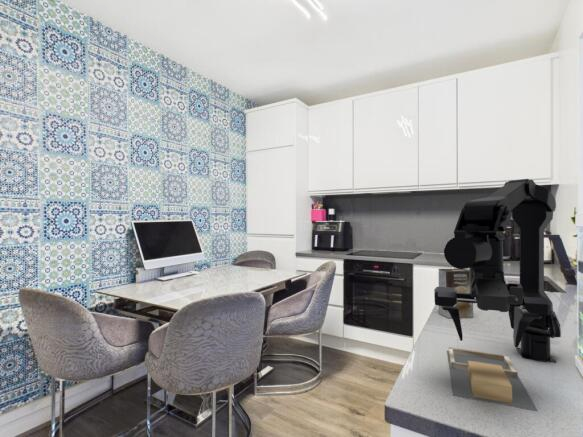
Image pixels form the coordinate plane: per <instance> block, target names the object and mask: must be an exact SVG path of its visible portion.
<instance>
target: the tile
mask: <svg viewBox="0 0 583 437" xmlns="http://www.w3.org/2000/svg"><path fill="white" fill-rule="evenodd" d="M468 376H469V380H470V384H471V388H472V391H473V395H474V397H479V398H484V399H490V400H495V401H501V402H506V403H511V404H512V386H511V384H510V382H509V380H508V378H507V376H506V374H505V372H504V370H503V368H502V366H501V365H495V364H488V363H482V362H475V361H468Z"/></svg>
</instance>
